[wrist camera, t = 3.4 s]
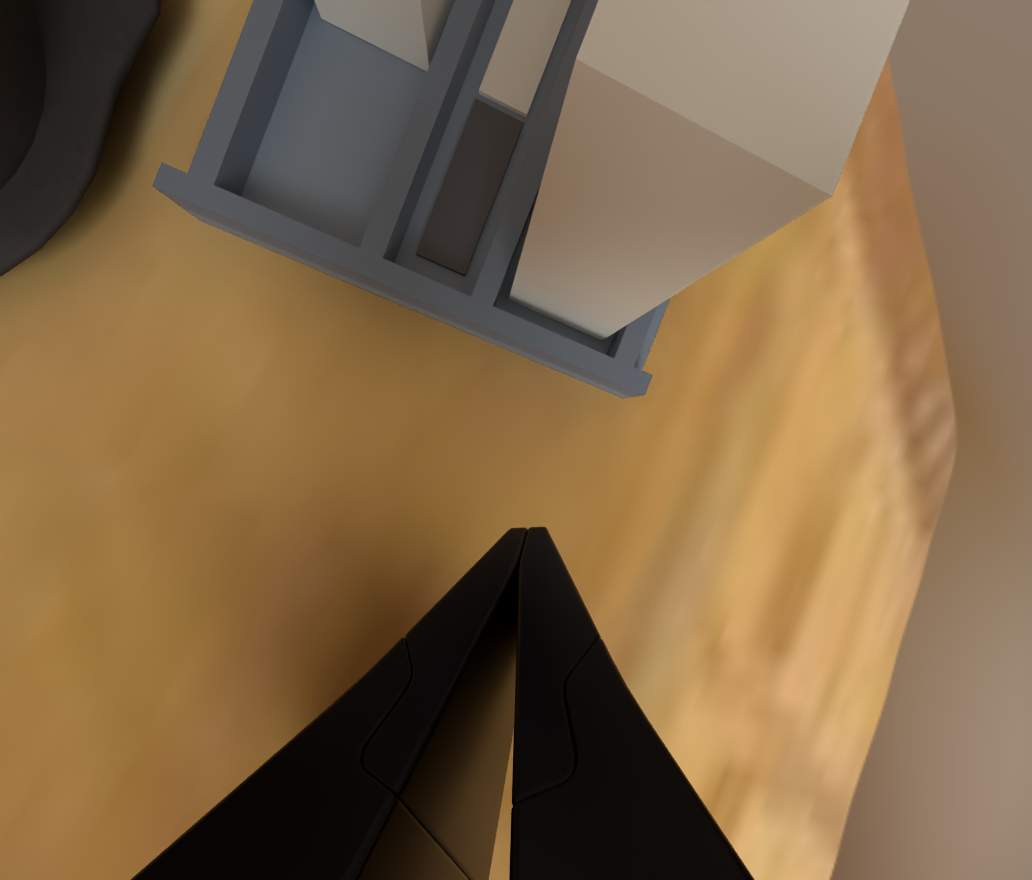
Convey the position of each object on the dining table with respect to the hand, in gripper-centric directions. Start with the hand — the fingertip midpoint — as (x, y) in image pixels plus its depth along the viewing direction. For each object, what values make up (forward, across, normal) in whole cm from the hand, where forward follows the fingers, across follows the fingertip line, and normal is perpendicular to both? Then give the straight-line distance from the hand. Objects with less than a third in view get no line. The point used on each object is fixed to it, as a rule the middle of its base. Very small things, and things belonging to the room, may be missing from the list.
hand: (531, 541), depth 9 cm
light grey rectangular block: (+15, +2, +5) cm, 16 cm away
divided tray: (+18, -1, +10) cm, 21 cm away
